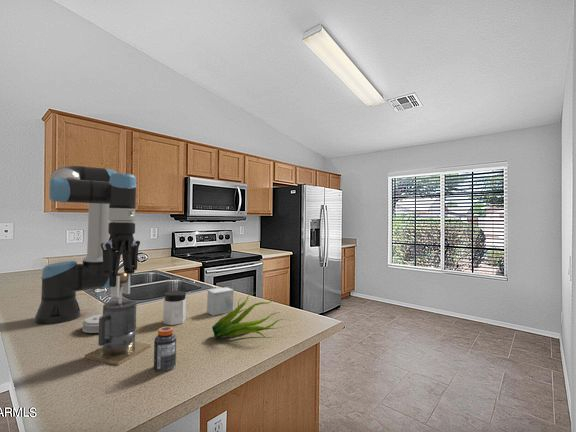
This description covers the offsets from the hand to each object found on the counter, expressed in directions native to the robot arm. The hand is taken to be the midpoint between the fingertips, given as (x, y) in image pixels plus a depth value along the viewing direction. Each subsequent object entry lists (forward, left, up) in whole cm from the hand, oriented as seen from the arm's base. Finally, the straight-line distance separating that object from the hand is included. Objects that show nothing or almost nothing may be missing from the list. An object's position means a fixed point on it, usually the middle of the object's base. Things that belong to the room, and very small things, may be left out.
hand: (120, 294), depth 97 cm
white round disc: (-23, +14, -19) cm, 33 cm away
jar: (-2, +30, -19) cm, 35 cm away
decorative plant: (+33, +31, -19) cm, 49 cm away
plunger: (0, 0, -11) cm, 11 cm away
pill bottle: (+20, -3, -19) cm, 28 cm away
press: (0, 0, -18) cm, 18 cm away
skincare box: (+9, +48, -19) cm, 52 cm away
